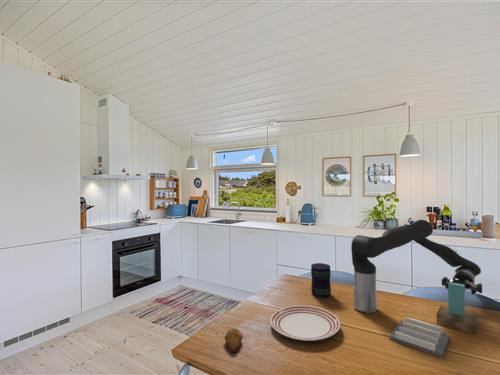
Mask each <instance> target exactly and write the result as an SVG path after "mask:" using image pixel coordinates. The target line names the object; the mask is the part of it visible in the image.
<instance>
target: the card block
mask: <svg viewBox="0 0 500 375" xmlns="http://www.w3.org/2000/svg"><path fill="white" fill-rule="evenodd" d="M447 290H448V291H447V292H448V294H447V295H448V297H447V298H448V307H449V313H451V314H455V315H459V316H463V317H464V316H465V311H466V299H465V298H466V296H465V295H466V294H465V293H466V292H465V291H466V290H465V285H463V284H458V283H453V282H449V283H448V289H447Z"/></svg>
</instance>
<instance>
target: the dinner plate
mask: <svg viewBox="0 0 500 375" xmlns="http://www.w3.org/2000/svg"><path fill="white" fill-rule="evenodd" d="M270 325H271V327H272V329H274V330H275V331H276V332H278V333H279V334H280V335H282V336H284V337H287V338H290V339H293V340H298V341H301V342H302V341H303V342H316V341H322V340H326V339H328V338H330V337H332V336H334V335H335V334H337V333H338V332H339V330H341V329H340V328H341V321H340V320H339V318H338V317H337V316H336V315H335V314H334V313H333V312H331V311H329V310H326V309H324V308H321V307H319V306H310V305H291V306H286V307H283V308H281V309H279V310H276V311H275V312H274V313H273V314H272V315H271V317H270Z"/></svg>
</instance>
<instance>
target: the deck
mask: <svg viewBox="0 0 500 375" xmlns="http://www.w3.org/2000/svg"><path fill="white" fill-rule="evenodd" d="M436 324H438V325H442V326H445V327H449V328H451V329H455V330H460V331H463V332H466V333H471V334H474V335H475V334H476V331H477V325H478V313H475V312H471V311H466V310H465V316H464V317H463V316H459V315H455V314H451V313H449V306H447V305H442V304H441V305H440V306H439V309H438V310H437V312H436Z"/></svg>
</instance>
